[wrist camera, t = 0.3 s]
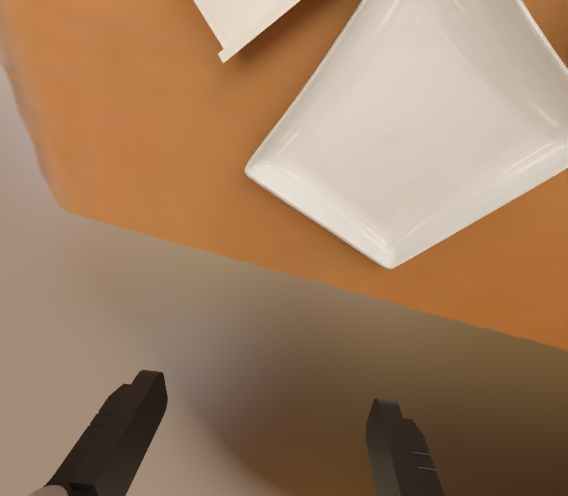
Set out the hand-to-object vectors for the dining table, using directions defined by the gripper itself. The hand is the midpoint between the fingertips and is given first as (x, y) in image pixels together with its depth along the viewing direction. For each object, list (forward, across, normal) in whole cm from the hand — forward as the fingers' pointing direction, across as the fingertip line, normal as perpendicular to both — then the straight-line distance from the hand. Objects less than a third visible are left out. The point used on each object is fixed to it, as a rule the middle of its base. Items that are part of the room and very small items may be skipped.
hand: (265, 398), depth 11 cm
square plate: (+30, -12, -7) cm, 33 cm away
